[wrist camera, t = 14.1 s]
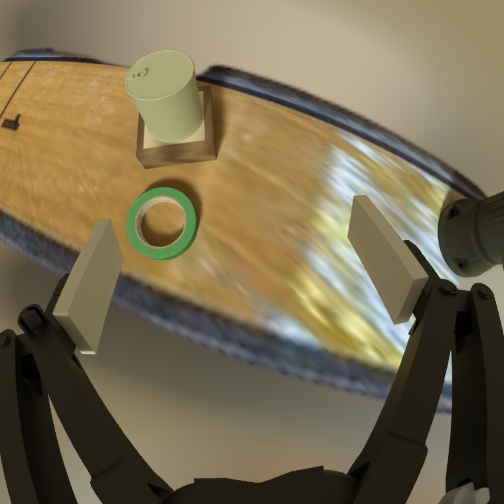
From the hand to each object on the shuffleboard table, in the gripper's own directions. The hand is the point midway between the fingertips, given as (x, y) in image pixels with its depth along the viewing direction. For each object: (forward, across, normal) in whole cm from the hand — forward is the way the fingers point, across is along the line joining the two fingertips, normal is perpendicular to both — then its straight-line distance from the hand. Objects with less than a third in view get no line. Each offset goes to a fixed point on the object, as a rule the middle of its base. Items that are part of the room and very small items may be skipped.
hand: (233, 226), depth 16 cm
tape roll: (+27, -11, -16) cm, 33 cm away
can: (+34, -8, -1) cm, 35 cm away
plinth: (+38, -8, -4) cm, 39 cm away
